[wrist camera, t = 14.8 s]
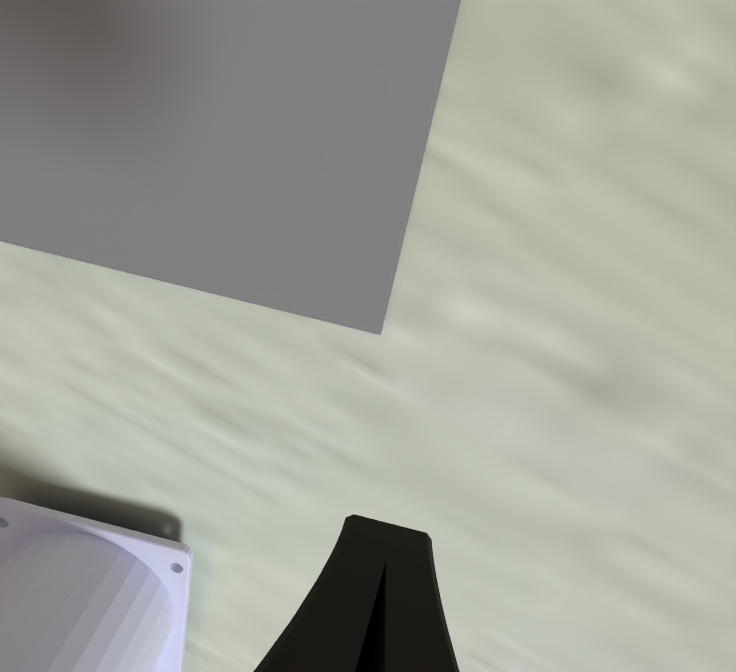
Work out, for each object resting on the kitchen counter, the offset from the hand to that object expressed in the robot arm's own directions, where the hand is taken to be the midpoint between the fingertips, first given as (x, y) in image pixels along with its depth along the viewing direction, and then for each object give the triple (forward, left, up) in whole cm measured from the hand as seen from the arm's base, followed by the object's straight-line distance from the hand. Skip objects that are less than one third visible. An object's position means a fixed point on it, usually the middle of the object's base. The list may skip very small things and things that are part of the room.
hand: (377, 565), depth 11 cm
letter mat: (+4, +10, -10) cm, 15 cm away
